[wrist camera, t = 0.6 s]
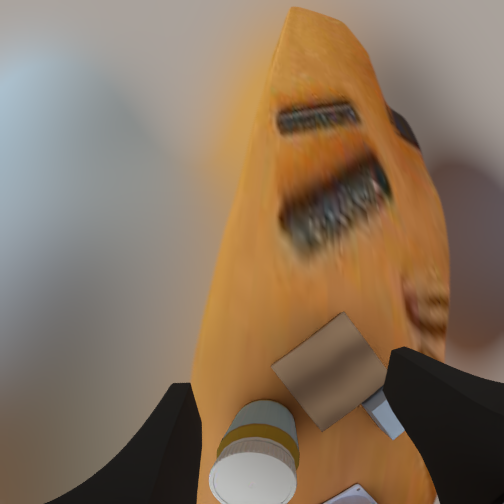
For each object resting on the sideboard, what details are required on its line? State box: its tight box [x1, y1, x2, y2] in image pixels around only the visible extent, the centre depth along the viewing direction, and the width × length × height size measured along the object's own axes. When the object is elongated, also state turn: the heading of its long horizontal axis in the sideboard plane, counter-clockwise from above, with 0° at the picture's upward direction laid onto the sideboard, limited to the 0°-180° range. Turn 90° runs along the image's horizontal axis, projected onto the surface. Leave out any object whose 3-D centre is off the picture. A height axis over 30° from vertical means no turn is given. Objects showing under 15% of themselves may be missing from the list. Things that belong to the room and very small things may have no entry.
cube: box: [361, 385, 405, 440], centre depth 25 cm, size 5×5×5 cm
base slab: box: [271, 312, 387, 432], centre depth 28 cm, size 10×10×2 cm
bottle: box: [209, 400, 299, 504], centre depth 21 cm, size 7×7×15 cm
